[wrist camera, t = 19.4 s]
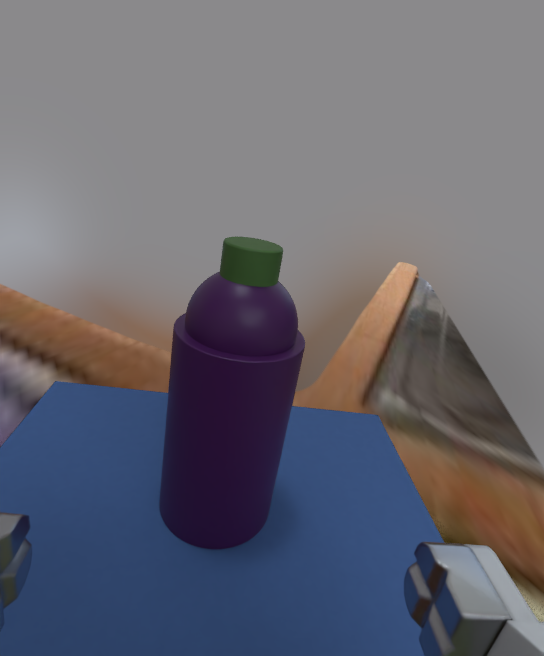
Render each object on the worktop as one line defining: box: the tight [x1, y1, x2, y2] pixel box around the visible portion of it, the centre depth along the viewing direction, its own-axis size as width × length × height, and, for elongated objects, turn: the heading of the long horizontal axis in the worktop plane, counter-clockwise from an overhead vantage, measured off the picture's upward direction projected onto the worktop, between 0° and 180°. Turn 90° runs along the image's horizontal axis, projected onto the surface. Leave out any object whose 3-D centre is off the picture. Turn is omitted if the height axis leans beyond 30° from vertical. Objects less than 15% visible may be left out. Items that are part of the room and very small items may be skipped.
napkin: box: [0, 381, 444, 656], centre depth 20 cm, size 22×18×1 cm
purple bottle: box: [159, 237, 305, 549], centre depth 17 cm, size 5×5×12 cm
